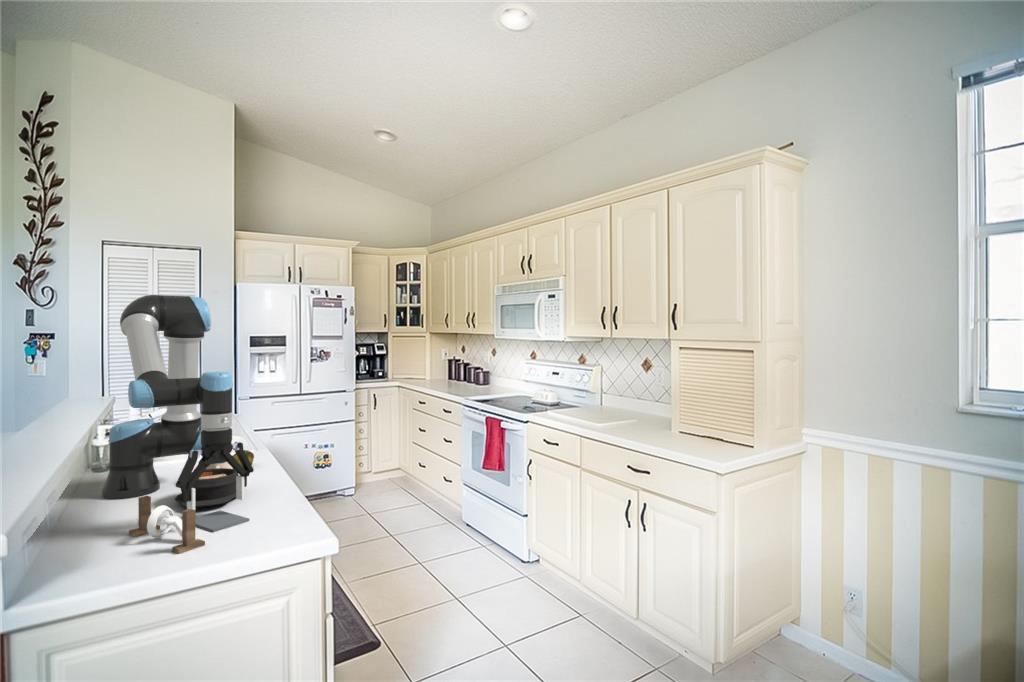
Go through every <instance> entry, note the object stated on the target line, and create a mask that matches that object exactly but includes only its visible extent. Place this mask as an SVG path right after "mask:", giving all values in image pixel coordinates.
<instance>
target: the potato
mask: <svg viewBox="0 0 1024 682" xmlns="http://www.w3.org/2000/svg"><path fill="white" fill-rule="evenodd" d="M243 450H244V452H245V454H246V456H247V458H248V459H249V461H250V463H251V465H252V466H253V462H254V459H255V455H254V453H253V452H252V451H249V450H245V449H243ZM232 456H233V457H234V459H235V460H236V461H237V462H238V463H239V464H240V465H241V466H242V464H241V462H240V460H239V458H238V456H237V454H236V453H234V454H232ZM242 467H243V466H242Z"/></svg>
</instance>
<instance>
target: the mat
mask: <svg viewBox="0 0 1024 682" xmlns="http://www.w3.org/2000/svg"><path fill="white" fill-rule="evenodd" d="M249 521H250V518H249V517H246V516H245V517H244V516H241V515H239V514H234V513H231V512H228V511H225V510H221V509H220V510H216V511H212V512H210V513H206V514H202V515H199V516H195V528H196V527H197V528H198V529H199V528H200V529H203V530H206V531H209V532H211V533H215V532H218V531H222V530H224V529H227V528H231V527H234V526H237V525H241V524H244V523H246V522H249Z"/></svg>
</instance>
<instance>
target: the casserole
mask: <svg viewBox="0 0 1024 682" xmlns="http://www.w3.org/2000/svg"><path fill="white" fill-rule="evenodd" d="M236 476H240V475H239V474H238V473H237V472H236V471H235V470H234V469H228V468H215V469H206V470H205V471H204V472H203V473H202V475H201V476H200V478H199V479H198V480H197V482H196V483H195V484H194V486H193V487H192V488H195V508H203V507H210V506H218V505H223V504H226V503H228V502H230V501H232V500H233V499H234V498H236ZM180 491H181V493H180V494H178V495H177V496H175V497H174V501H175V502H177V503H179V504H181V506H183V507H185V508H187V502H186V501H184V490H183V489H181V488H180Z"/></svg>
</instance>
